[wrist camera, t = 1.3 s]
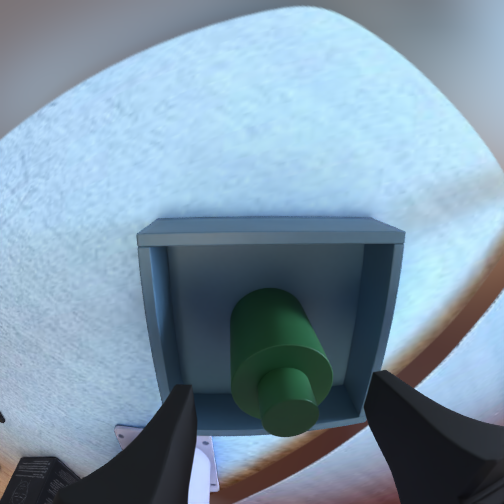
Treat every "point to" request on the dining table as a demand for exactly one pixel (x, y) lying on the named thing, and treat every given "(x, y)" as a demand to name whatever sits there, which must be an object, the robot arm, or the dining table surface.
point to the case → (258, 277)
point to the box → (37, 481)
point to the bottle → (277, 362)
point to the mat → (1, 418)
